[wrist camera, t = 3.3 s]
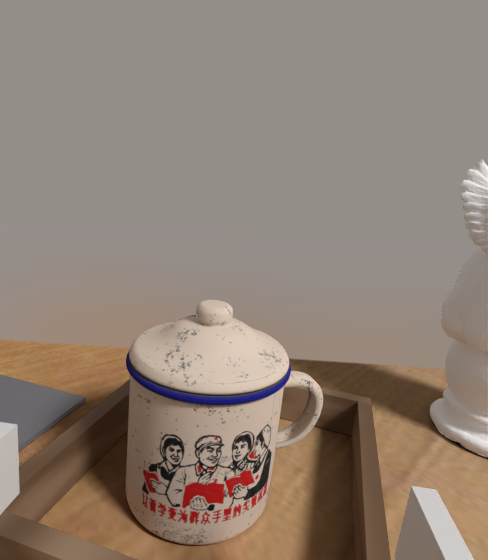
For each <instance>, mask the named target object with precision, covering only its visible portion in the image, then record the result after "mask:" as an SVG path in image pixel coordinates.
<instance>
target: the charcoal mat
mask: <svg viewBox="0 0 488 560" xmlns="http://www.w3.org/2000/svg"><path fill="white" fill-rule="evenodd" d="M85 398H86V397H82V396H78V395H75V394H71V393H67V392H63V391H60V390H56V389H52V388H48V387H45V386H41V385H37V384H33V383H30V382H26V381H22V380H18V379H15V378H11V377H7V376H3V375H0V422H4V423H11V424H17V427H18V452H19V451H20V450H22V449H23V448H24V447H26V446H27V445H28V444H30V443H31V442H32V441H34V440H35V439H36V438H38V437H39V436H40V435H42V434H43V433H44V432H46V431H47V430H48V429H50V428H51V427H52V426H54V425H55V424H57V423H58V422H59V421H61V420H62V419H63V418H65V417H66V416H67V415H69V414H70V413H71V412H73V411H74V410H75V409H77V408H78V407H79V406H81V405H82V404H83V403H85Z"/></svg>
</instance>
